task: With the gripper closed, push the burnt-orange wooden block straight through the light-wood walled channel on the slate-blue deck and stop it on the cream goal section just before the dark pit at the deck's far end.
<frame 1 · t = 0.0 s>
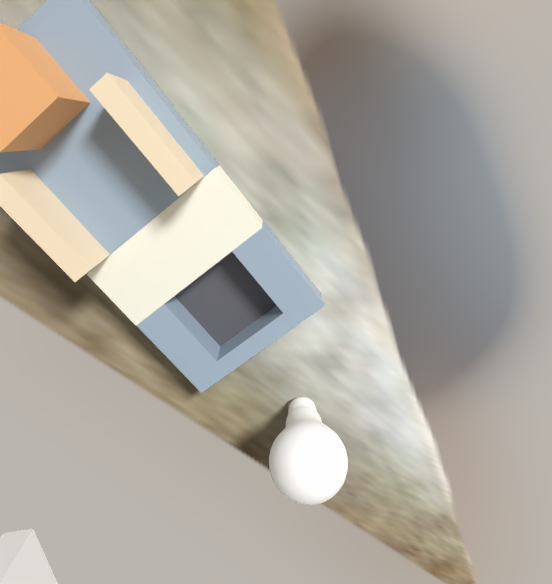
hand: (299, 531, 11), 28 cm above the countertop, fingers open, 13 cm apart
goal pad: (180, 242, 37), on the countertop
lightbulb: (301, 402, 43), on the countertop
block: (37, 95, 31), point 3 cm above the countertop, touching tunnel deck
tunnel deck: (153, 211, 36), on the countertop
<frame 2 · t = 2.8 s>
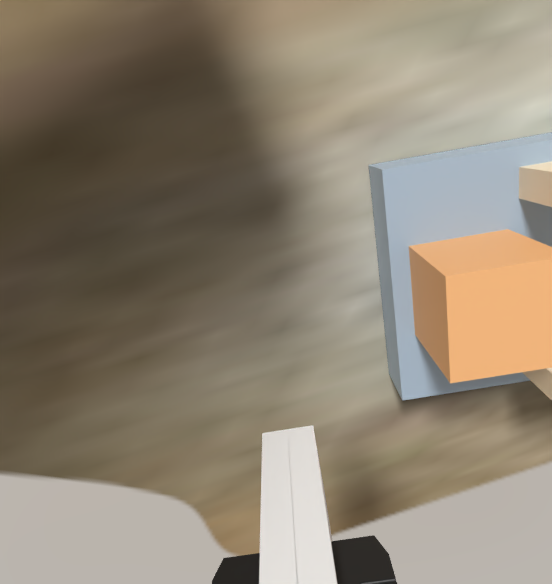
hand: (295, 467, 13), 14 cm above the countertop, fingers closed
block: (459, 284, 24), point 3 cm above the countertop, touching tunnel deck
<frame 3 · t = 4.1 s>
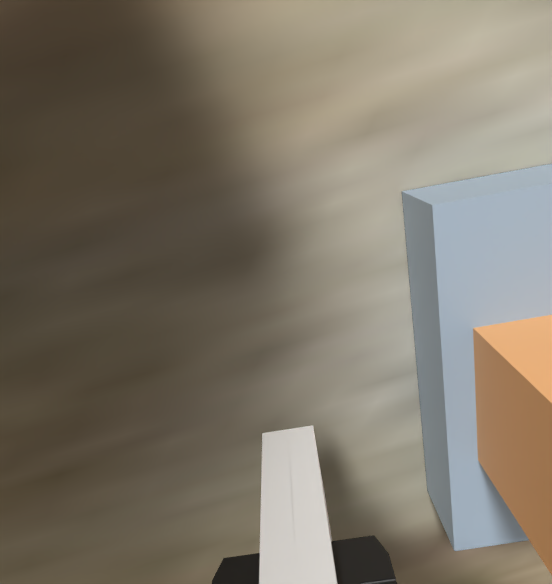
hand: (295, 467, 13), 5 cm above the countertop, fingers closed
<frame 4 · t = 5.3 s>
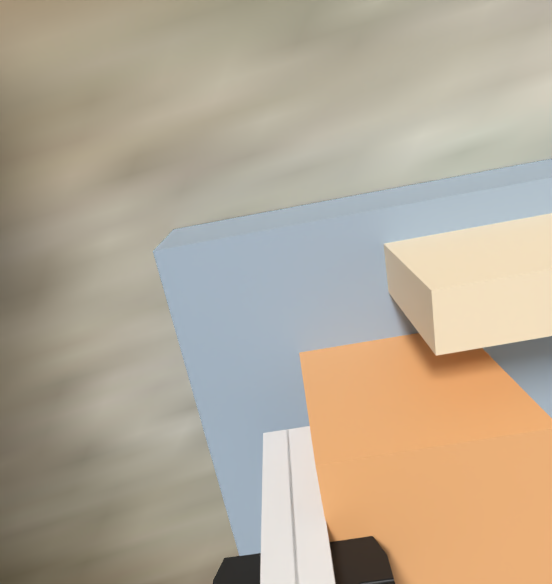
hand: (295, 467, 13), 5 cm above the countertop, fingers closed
block: (386, 407, 15), point 3 cm above the countertop, touching gripper, tunnel deck
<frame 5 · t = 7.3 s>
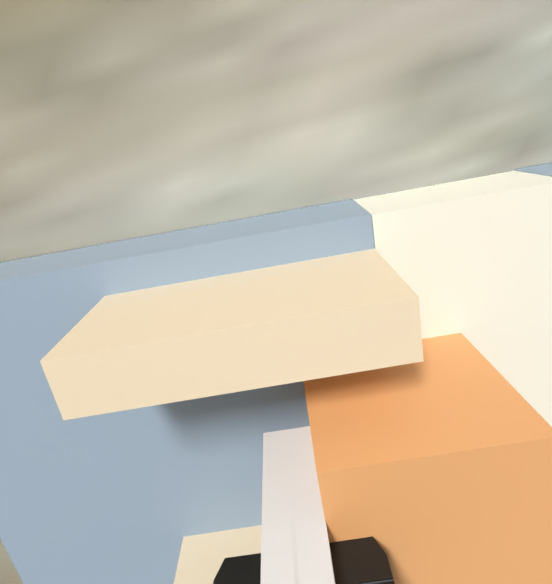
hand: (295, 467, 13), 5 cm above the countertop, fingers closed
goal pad: (443, 354, 17), on the countertop
block: (387, 413, 15), point 3 cm above the countertop, touching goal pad, gripper
tunnel deck: (359, 367, 18), on the countertop
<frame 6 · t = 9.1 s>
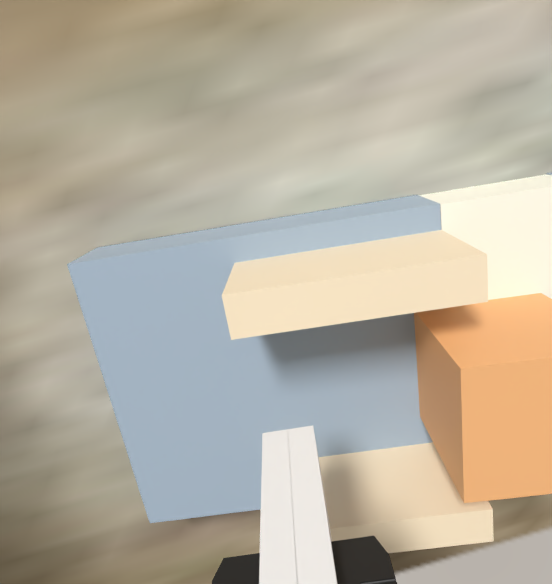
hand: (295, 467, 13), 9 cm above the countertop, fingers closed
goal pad: (484, 323, 21), on the countertop
block: (477, 357, 19), point 3 cm above the countertop, touching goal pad, tunnel deck
tunnel deck: (415, 332, 22), on the countertop
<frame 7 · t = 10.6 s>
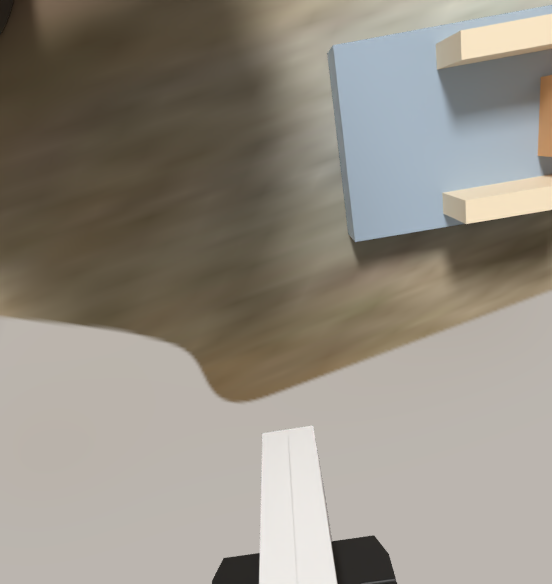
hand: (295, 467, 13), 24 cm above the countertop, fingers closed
tunnel deck: (527, 116, 33), on the countertop
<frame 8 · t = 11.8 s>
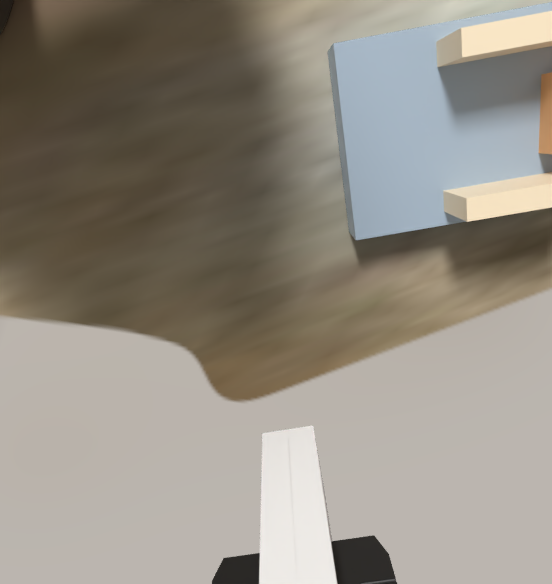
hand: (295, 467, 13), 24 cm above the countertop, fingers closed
tunnel deck: (527, 113, 33), on the countertop
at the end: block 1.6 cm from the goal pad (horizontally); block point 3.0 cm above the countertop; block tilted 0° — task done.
